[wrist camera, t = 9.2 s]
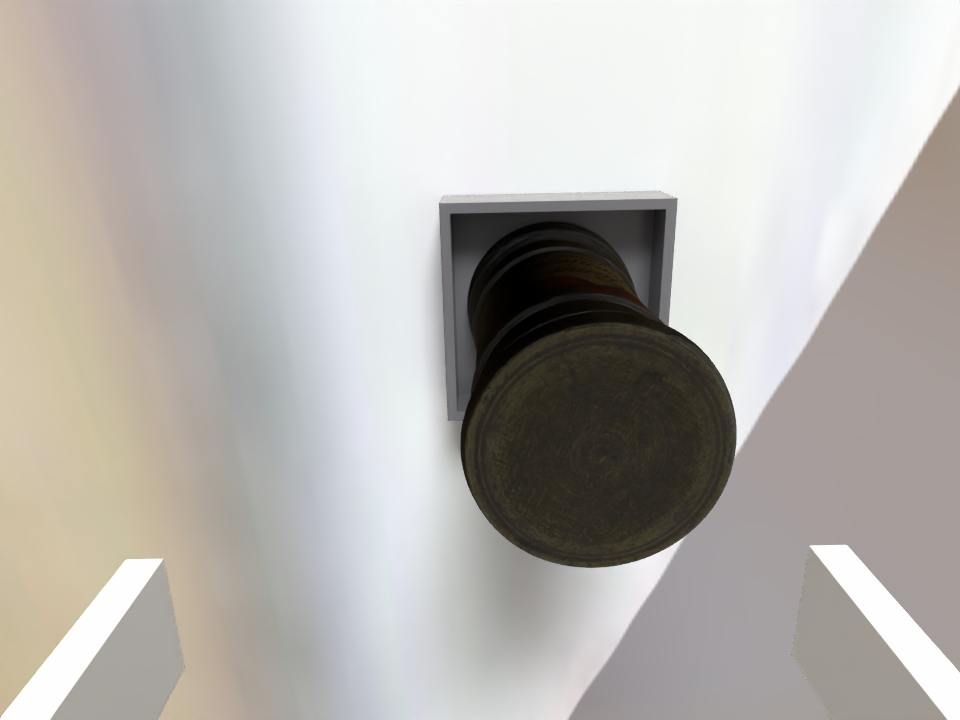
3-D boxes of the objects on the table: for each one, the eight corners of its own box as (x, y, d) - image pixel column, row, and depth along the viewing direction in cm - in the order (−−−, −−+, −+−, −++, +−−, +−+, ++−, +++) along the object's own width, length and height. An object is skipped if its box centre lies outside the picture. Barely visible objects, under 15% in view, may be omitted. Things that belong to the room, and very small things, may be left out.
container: (622, 383, 39) (728, 587, 22) (464, 376, 39) (447, 575, 22) (642, 224, 36) (781, 317, 19) (471, 216, 36) (457, 302, 19)
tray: (451, 395, 40) (447, 420, 37) (443, 195, 37) (439, 203, 33) (647, 392, 40) (661, 416, 37) (660, 191, 36) (677, 198, 33)
